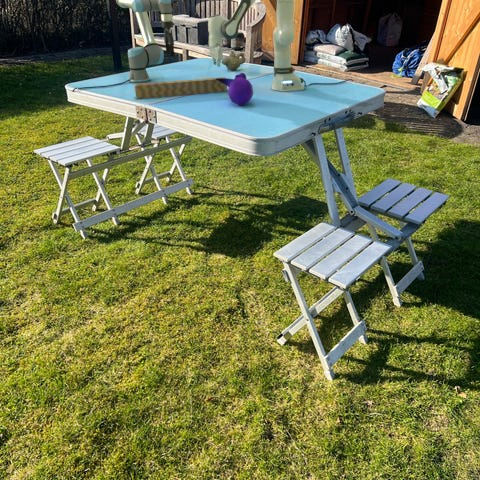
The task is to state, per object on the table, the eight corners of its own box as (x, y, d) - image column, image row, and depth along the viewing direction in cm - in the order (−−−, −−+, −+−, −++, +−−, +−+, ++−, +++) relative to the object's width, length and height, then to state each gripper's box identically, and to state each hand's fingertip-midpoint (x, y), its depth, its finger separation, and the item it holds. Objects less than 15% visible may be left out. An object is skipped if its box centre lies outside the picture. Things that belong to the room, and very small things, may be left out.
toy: (238, 95, 290) (253, 110, 269) (212, 91, 282) (225, 106, 262) (244, 71, 282) (260, 84, 261) (218, 65, 274) (232, 78, 254)
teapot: (225, 72, 363) (224, 52, 355) (218, 70, 371) (218, 50, 364) (248, 69, 372) (247, 50, 364) (241, 67, 381) (240, 48, 373)
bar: (136, 99, 288) (134, 85, 284) (135, 97, 293) (134, 84, 289) (227, 91, 303) (226, 78, 299) (224, 89, 308) (224, 77, 304)
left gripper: (176, 22, 294) (179, 56, 305) (168, 19, 315) (171, 52, 325) (165, 22, 292) (168, 57, 303) (158, 20, 313) (161, 53, 323)
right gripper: (224, 44, 281) (225, 67, 288) (216, 40, 298) (217, 62, 305) (215, 45, 280) (216, 68, 287) (207, 41, 296) (208, 63, 303)
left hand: (170, 54), depth 314 cm, fingers open, 13 cm apart
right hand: (216, 65), depth 296 cm, fingers open, 8 cm apart
